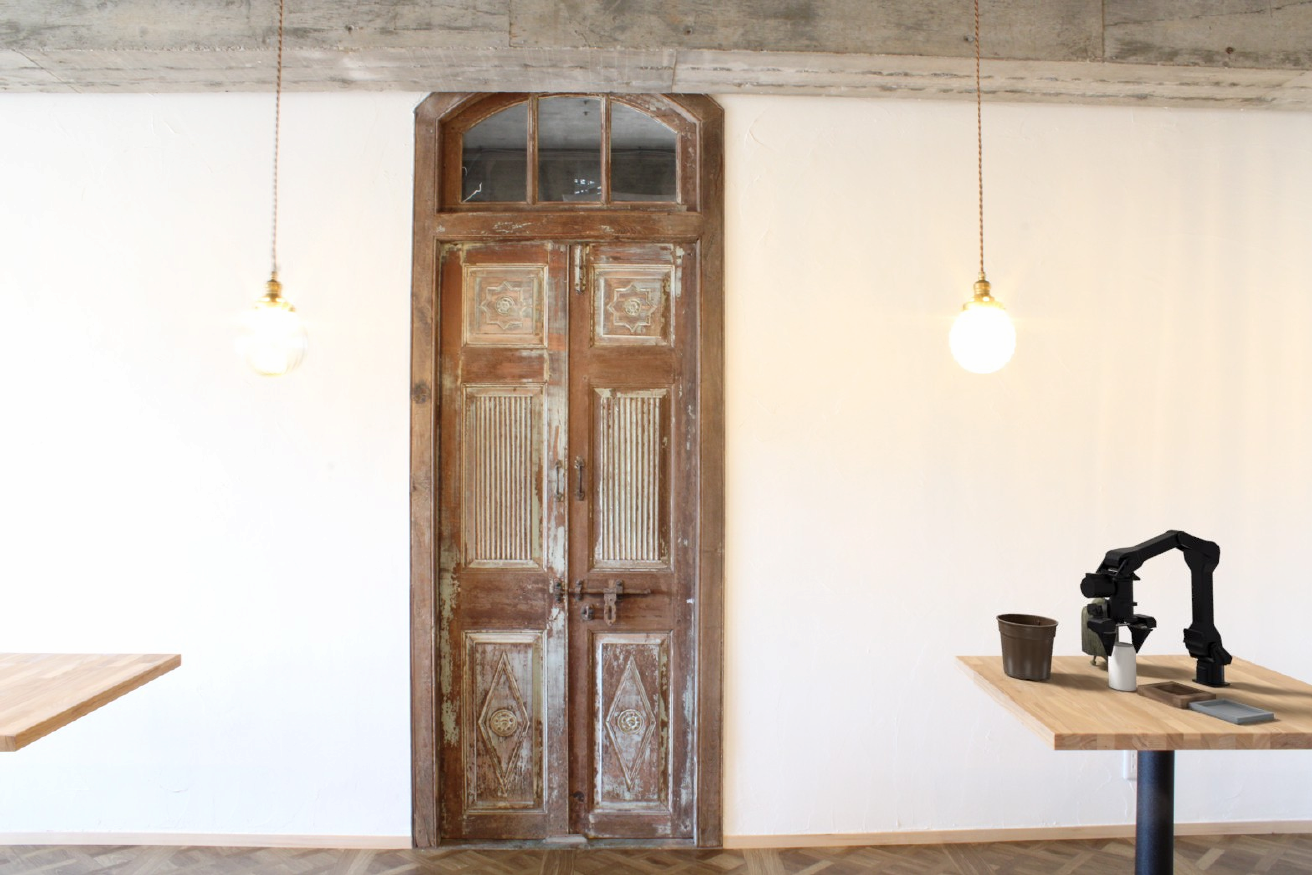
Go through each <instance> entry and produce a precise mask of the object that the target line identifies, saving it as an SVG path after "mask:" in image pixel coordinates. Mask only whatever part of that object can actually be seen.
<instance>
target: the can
mask: <svg viewBox="0 0 1312 875" xmlns="http://www.w3.org/2000/svg"><path fill="white" fill-rule="evenodd" d="M1107 667H1108V669H1107V670H1108V687H1109V688H1110V689H1112V690H1115V691H1120V692H1125V693H1126V692H1127V693H1128V692H1130V693H1131V692H1135V691H1136V690H1137V688H1138V684H1137V654H1136V651H1135V649H1134V645H1133V644H1132V643H1130V642H1124V641H1119V642H1115V643H1114V648H1113V653H1112V656H1111V657H1110V656H1108V665H1107Z"/></svg>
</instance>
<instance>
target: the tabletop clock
mask: <svg viewBox="0 0 1312 875" xmlns="http://www.w3.org/2000/svg"><path fill="white" fill-rule="evenodd" d="M1106 599H1107V598H1093V600H1092V601H1091V603H1096V604H1097V605H1098V606H1101V605H1105V600H1106ZM1080 614H1081V615H1080V616H1081V617H1080V618H1081V619H1080V624H1081V626H1080V627H1081V628H1080V629H1081V630H1080V632H1081V633H1080V634H1081V652H1083V653H1085V654H1087V655H1088V656H1091V657H1092V659H1091V660H1090V662H1089V663H1090V664H1091V666H1096V665H1097V661H1096V659H1097V657H1098V658H1099V657H1100V658H1102V659H1103V660H1104V661H1105V662H1106V665H1107V667H1106V668H1107V670H1108V656H1107V654H1106V652H1105V649H1104V647H1103V644H1102V642H1101V640H1100V638H1099V636H1098V635H1097V634H1096V633H1095V632H1093V631H1091V629H1088V628H1087V620H1088V619H1089V618H1093V616H1092V615H1091V616H1090V615H1088V613H1087V605H1085V606H1083V607H1082V609H1081V613H1080ZM1104 619H1105V618H1104ZM1108 620H1110V619H1108ZM1114 632H1115V633H1117V634H1116V639H1115V642H1120V627H1116V629H1115V631H1114Z"/></svg>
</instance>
